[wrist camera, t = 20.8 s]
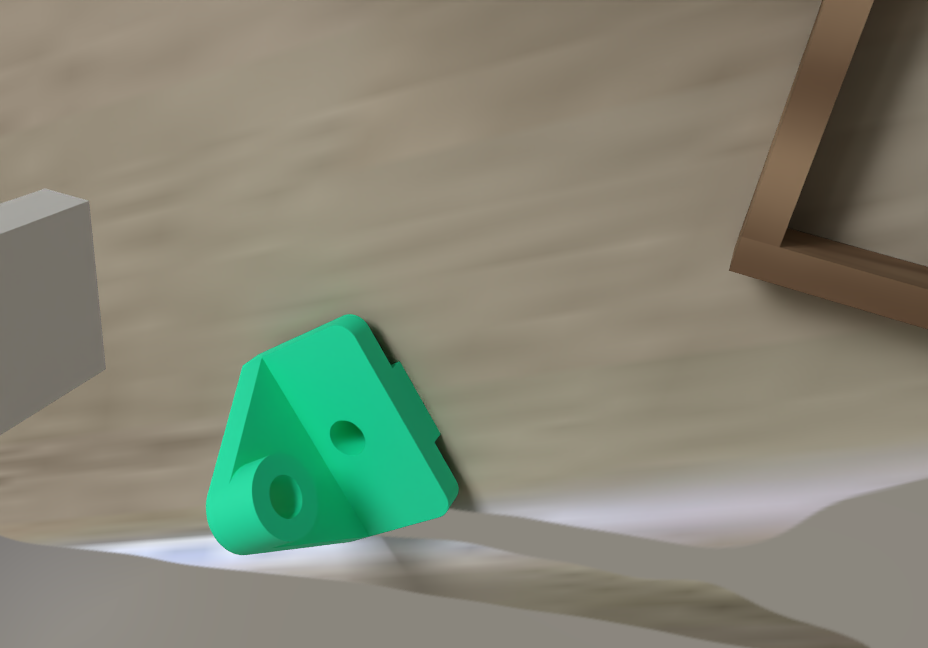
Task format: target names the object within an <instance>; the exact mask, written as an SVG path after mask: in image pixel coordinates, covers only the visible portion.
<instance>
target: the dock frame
mask: <svg viewBox="0 0 928 648" xmlns="http://www.w3.org/2000/svg"><path fill="white" fill-rule="evenodd" d="M873 2H874V0H822V3H821V6H820V9H819V12H818V15H817V17H816V20H815V23H814V26H813V29H812V31H811V34H810V37H809V40H808V43H807V46H806V48H805V51H804V54H803V57H802V60H801V62H800V65H799V68H798V71H797V74H796V77H795V79H794V82H793V85H792V88H791V91H790V93H789V96H788V99H787V102H786V105H785V107H784V110H783V113H782V116H781V119H780V122H779V124H778V127H777V130H776V133H775V136H774V138H773V141H772V144H771V147H770V150H769V153H768V155H767V158H766V161H765V164H764V167H763V169H762V172H761V175H760V178H759V181H758V184H757V186H756V189H755V192H754V195H753V198H752V200H751V203H750V206H749V209H748V212H747V214H746V217H745V220H744V223H743V226H742V229H741V231H740V234H739V237H738V240H737V243H736V245H735V248H734V252H733V256H732V261H731V265H730V269H729V271H732V272H736V273H739V274H742V275H746V276H749V277H753V278H756V279H759V280H763V281H766V282H769V283H773V284H776V285H780V286H783V287H786V288H790V289H793V290H797V291H800V292H803V293H807V294H810V295H813V296H817V297H820V298H824V299H827V300H830V301H834V302H837V303H841V304H844V305H847V306H851V307H854V308H857V309H861V310H864V311H868V312H871V313H874V314H878V315H881V316H884V317H888V318H891V319H895V320H898V321H901V322H905V323H908V324H912V325H915V326H918V327H922V328H925V329H928V267H926V266H922V265H919V264H915V263H911V262H908V261H904V260H901V259H897V258H893V257H890V256H886V255H883V254H879V253H876V252H872V251H868V250H865V249H861V248H858V247H854V246H850V245H847V244H843V243H840V242H836V241H832V240H829V239H825V238H822V237H818V236H814V235H811V234H807V233H804V232H800V231H796V230H793V229H789V228H787V227H788V224H789V221H790V219H791V216H792V213H793V211H794V208H795V206H796V203H797V200H798V198H799V195H800V193H801V190H802V187H803V185H804V182H805V179H806V177H807V174H808V172H809V169H810V166H811V164H812V161H813V159H814V156H815V153H816V151H817V148H818V145H819V143H820V140H821V138H822V135H823V132H824V130H825V127H826V125H827V122H828V119H829V117H830V114H831V111H832V109H833V106H834V104H835V101H836V98H837V96H838V93H839V91H840V88H841V85H842V83H843V80H844V77H845V75H846V72H847V70H848V67H849V64H850V62H851V59H852V57H853V54H854V51H855V49H856V46H857V43H858V41H859V38H860V36H861V33H862V30H863V28H864V25H865V23H866V20H867V17H868V15H869V12H870V9H871V7H872V4H873Z"/></svg>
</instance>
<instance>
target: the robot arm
mask: <svg viewBox="0 0 928 648" xmlns="http://www.w3.org/2000/svg"><path fill="white" fill-rule="evenodd" d="M105 369H106V366H105V356H104V346H103V336H102V326H101V316H100V306H99V296H98V286H97V276H96V266H95V256H94V246H93V236H92V226H91V216H90V206H89V201H88V200H84V199H81V198H77V197H74V196H70V195H66V194H63V193H59V192H55V191H52V190H48V189H43V190H40V191H37V192H34V193H31V194H28V195H25V196H22V197H19V198H16V199H13V200H10V201H7V202H4V203H1V204H0V435H1V434H3V433H4V432H6V431H8V430H9V429H11V428H12V427H14V426H16V425H17V424H19V423H20V422H22V421H23V420H25V419H27V418H28V417H30V416H31V415H33V414H35V413H36V412H38V411H39V410H41V409H43V408H44V407H46V406H47V405H49V404H51V403H52V402H54V401H55V400H57V399H59V398H60V397H62V396H63V395H65V394H67V393H68V392H70V391H71V390H73V389H75V388H76V387H78V386H79V385H81V384H83V383H84V382H86V381H87V380H89V379H91V378H92V377H94V376H95V375H97V374H99V373H100V372H102V371H103V370H105Z"/></svg>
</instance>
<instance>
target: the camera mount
mask: <svg viewBox="0 0 928 648" xmlns="http://www.w3.org/2000/svg"><path fill="white" fill-rule="evenodd" d="M439 436H440V432H439V430H438V428H437V427H436V425H435V423H434V421H433V419H432V418H431V416H430V414H429V412H428V411H427V409H426V407H425V405H424V403H423V402H422V400H421V398H420V396H419V395H418V393H417V391H416V389H415V387H414V386H413V384H412V382H411V380H410V379H409V377H408V375H407V373H406V371H405V370H404V368H403V366H402V364H401V363H400V361H399V362H397V363H394V364H392V365H390V363H389V361H388V359H387V358H386V356H385V354H384V352H383V351H382V349H381V347H380V345H379V344H378V342H377V340H376V338H375V336H374V335H373V333H372V331H371V329H370V328H369V326H368V324H367V323H366V322H365V321H364V320H363V319H362V318H360V317H358V316H356V315H352V314H347V315H344V316H341V317H339V318H337V319H335V320H333V321H331V322H328V323H326V324H324V325H322V326H320V327H317V328H315V329H313V330H311V331H309V332H306V333H304V334H302V335H300V336H298V337H295V338H293V339H291V340H289V341H287V342H285V343H282V344H280V345H278V346H276V347H274V348H271V349H269V350H267V351H265V352H263V353H260V354H258V355H257V356H256V357H254V358H253V359H251V360H250V361H249V362H247V363H246V364H244V365H243V367H242V370H241V374H240V378H239V381H238V385H237V389H236V392H235V396H234V400H233V403H232V407H231V411H230V414H229V418H228V422H227V425H226V429H225V433H224V436H223V440H222V444H221V447H220V451H219V455H218V458H217V462H216V466H215V469H214V473H213V477H212V480H211V484H210V488H209V491H208V495H207V500H206V515H207V520H208V524H209V527H210V529H211V531H212V533H213V535H214V537H215V538H216V540H217V541H218V542H219V543H220V545H222V546H223V547H224V548H225V549H226V550H228V551H230V552H232V553H234V554H238V555H250V554H258V553H266V552H274V551H282V550H290V549H298V548H306V547H314V546H322V545H330V544H337V543H345V542H351V541H355V540H359V539H362V538H366V537H370V536H373V535H377V534H380V533H384V532H388V531H391V530H395V529H398V528H402V527H406V526H409V525H413V524H416V523H420V522H424V521H427V520H431V519H435V518H438V517H441V516H443V515H444V514H445V513H446V512H447V511H448V509H449V507H450V506H451V504H452V503H453V501H454V500H455V498H456V497H457V495H458V492H459V487H458V483H457V481H456V479H455V478H454V476H453V474H452V472H451V471H450V469H449V467H448V465H447V463H446V462H445V460H444V458H443V456H442V455H441V453H440V451H439V449H438V448H437V446H436V444H435V441H436V439H437V438H438V437H439Z"/></svg>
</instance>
